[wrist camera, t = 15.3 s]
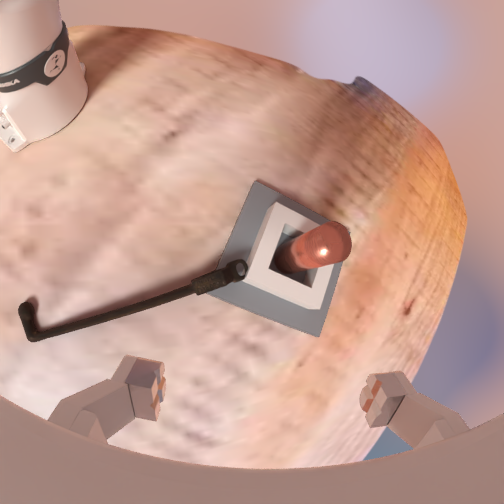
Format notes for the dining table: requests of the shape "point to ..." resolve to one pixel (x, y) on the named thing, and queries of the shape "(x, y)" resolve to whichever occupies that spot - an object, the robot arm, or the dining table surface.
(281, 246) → the pin
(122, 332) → the dining table surface
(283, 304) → the socket board
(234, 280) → the black hooked rod
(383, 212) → the dining table surface
